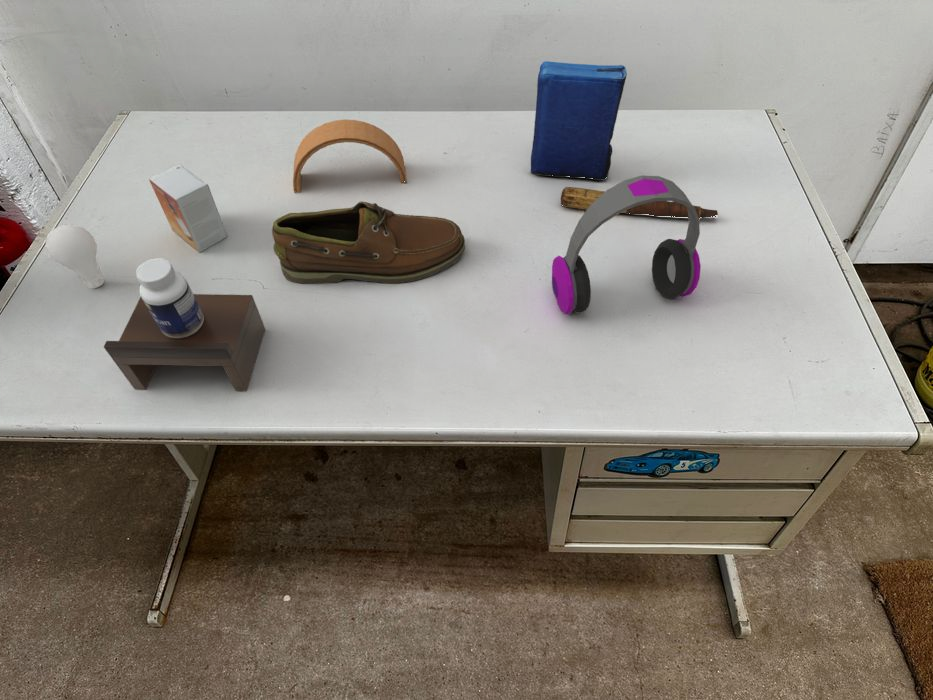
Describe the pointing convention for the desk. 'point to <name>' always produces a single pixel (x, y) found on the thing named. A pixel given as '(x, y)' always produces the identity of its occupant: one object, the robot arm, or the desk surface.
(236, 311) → the shelf
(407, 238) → the boat shoe
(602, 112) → the book
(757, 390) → the desk surface
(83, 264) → the lightbulb
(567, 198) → the hand tool
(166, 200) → the small box
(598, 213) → the headphones
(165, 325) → the pill bottle
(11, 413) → the desk surface
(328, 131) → the arch
